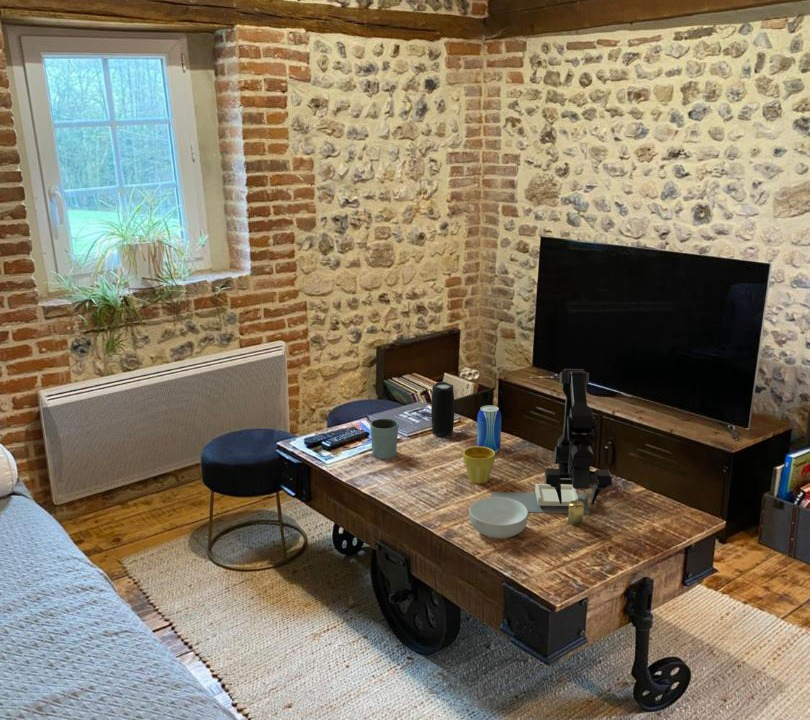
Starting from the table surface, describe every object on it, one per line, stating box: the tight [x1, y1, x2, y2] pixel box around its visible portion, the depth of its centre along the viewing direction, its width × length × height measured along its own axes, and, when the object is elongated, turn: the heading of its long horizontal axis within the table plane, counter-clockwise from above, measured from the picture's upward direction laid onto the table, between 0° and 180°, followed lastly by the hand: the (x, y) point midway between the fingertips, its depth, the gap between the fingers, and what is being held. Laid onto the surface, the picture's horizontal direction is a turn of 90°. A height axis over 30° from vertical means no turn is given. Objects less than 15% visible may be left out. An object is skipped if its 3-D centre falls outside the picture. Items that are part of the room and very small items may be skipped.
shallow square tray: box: [534, 483, 578, 509], centre depth 248 cm, size 10×12×4 cm
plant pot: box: [462, 445, 496, 485], centre depth 264 cm, size 10×10×10 cm
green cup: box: [369, 417, 399, 460], centre depth 284 cm, size 10×10×12 cm
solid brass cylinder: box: [567, 501, 585, 527], centre depth 236 cm, size 4×4×6 cm
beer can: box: [476, 404, 502, 454], centre depth 287 cm, size 8×8×16 cm
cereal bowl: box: [468, 496, 529, 539], centre depth 230 cm, size 17×17×7 cm
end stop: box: [584, 487, 597, 513], centre depth 247 cm, size 10×2×3 cm, turn 176°
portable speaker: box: [430, 381, 455, 438], centre depth 302 cm, size 9×9×20 cm
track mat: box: [491, 491, 591, 515], centre depth 249 cm, size 13×29×1 cm, turn 86°
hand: (576, 503), depth 235 cm, fingers open, 9 cm apart
